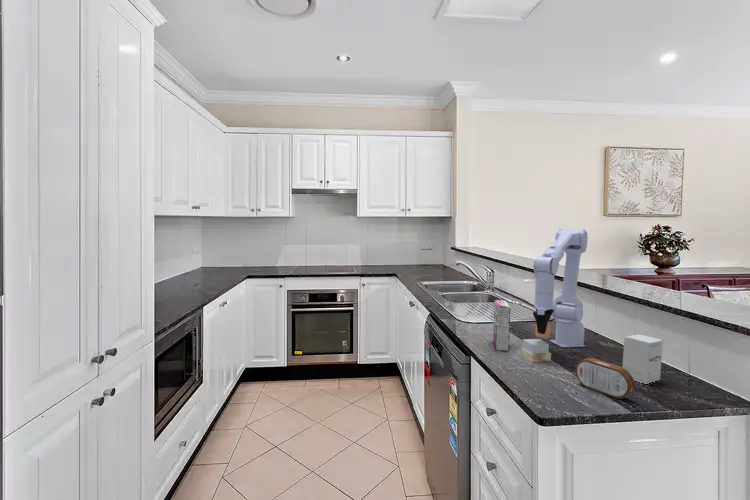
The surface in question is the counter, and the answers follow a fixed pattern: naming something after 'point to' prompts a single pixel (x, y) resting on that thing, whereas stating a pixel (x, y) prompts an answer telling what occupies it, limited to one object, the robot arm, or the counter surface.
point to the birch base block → (535, 356)
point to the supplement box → (643, 358)
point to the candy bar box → (501, 325)
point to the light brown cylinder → (547, 333)
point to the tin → (605, 377)
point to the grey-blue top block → (535, 346)
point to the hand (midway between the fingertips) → (542, 331)
